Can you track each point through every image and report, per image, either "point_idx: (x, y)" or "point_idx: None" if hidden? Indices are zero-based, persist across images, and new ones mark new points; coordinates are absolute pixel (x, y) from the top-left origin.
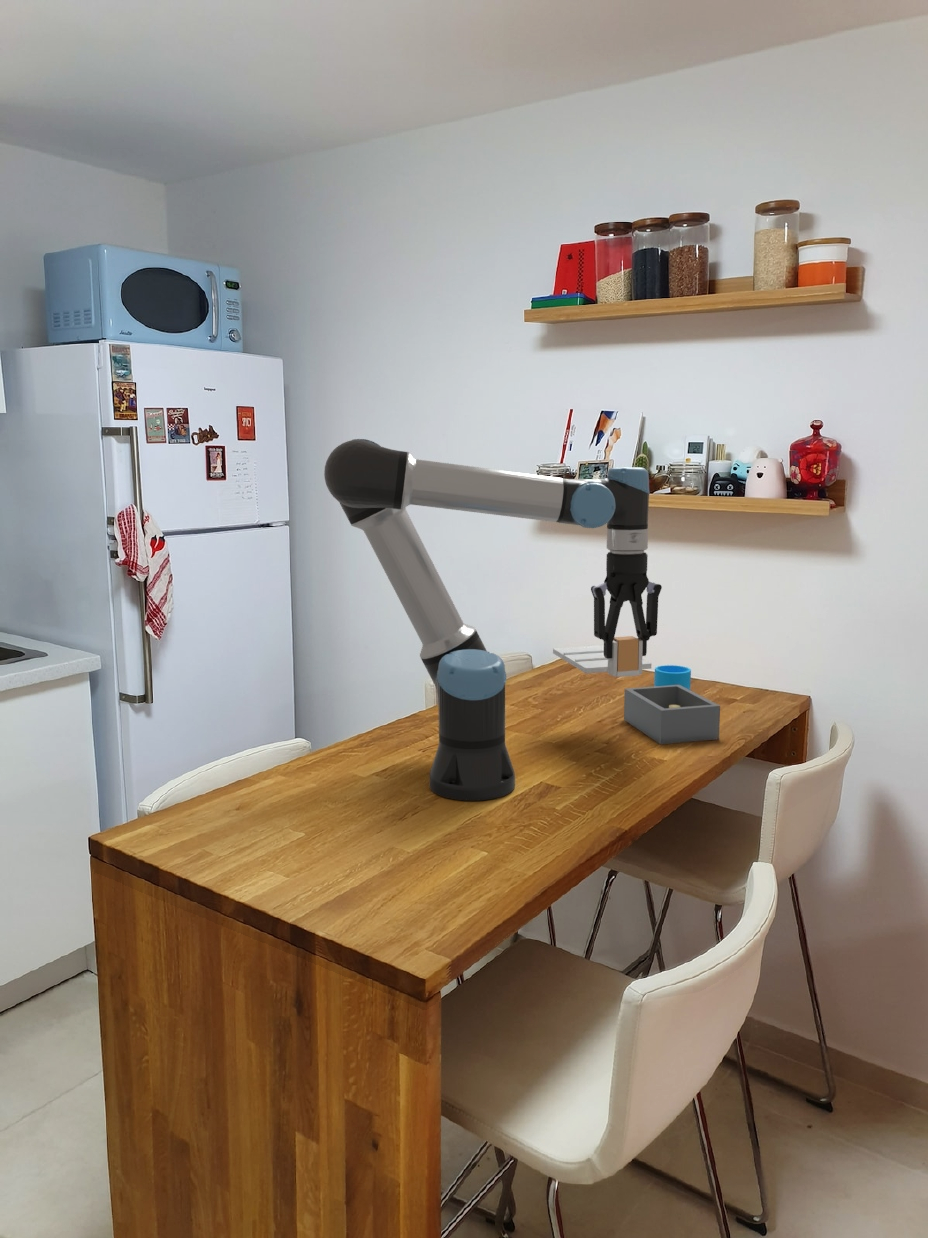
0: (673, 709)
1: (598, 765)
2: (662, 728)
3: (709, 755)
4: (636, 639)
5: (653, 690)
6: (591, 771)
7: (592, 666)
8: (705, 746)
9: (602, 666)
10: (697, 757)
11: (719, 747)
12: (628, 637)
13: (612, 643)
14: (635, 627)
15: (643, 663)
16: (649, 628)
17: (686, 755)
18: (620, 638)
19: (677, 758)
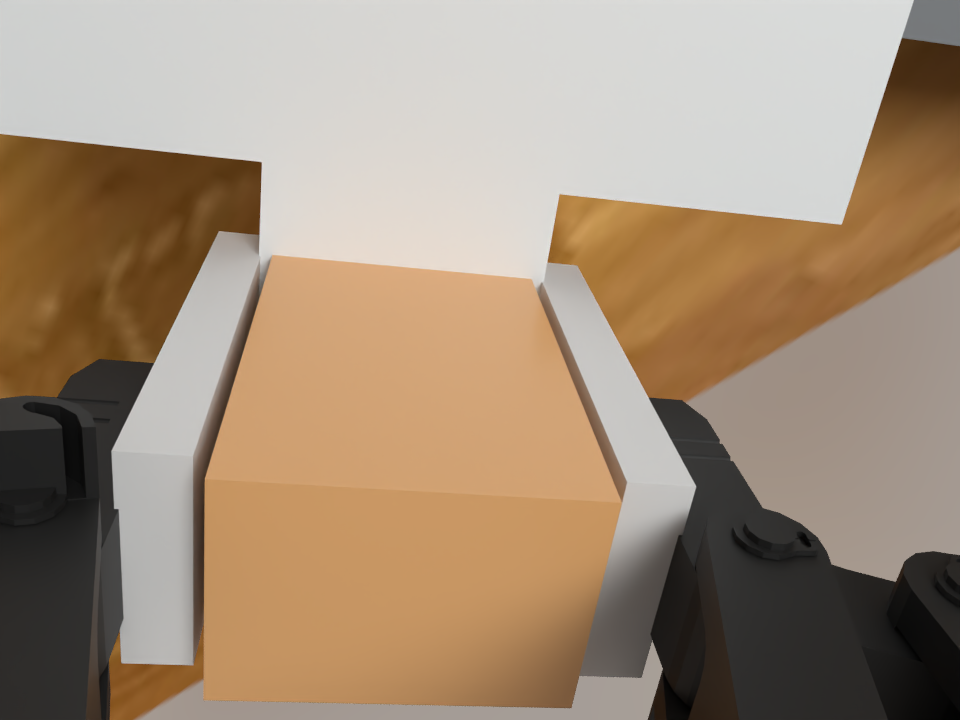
0: (909, 35)
1: (184, 199)
2: None
3: (815, 268)
4: (537, 698)
5: None
6: (109, 269)
7: (48, 63)
8: (910, 134)
9: (189, 121)
10: (741, 273)
11: (957, 178)
12: (488, 573)
13: (124, 603)
14: (723, 646)
15: (763, 184)
16: (949, 702)
17: (715, 227)
18: (302, 604)
19: (642, 251)
